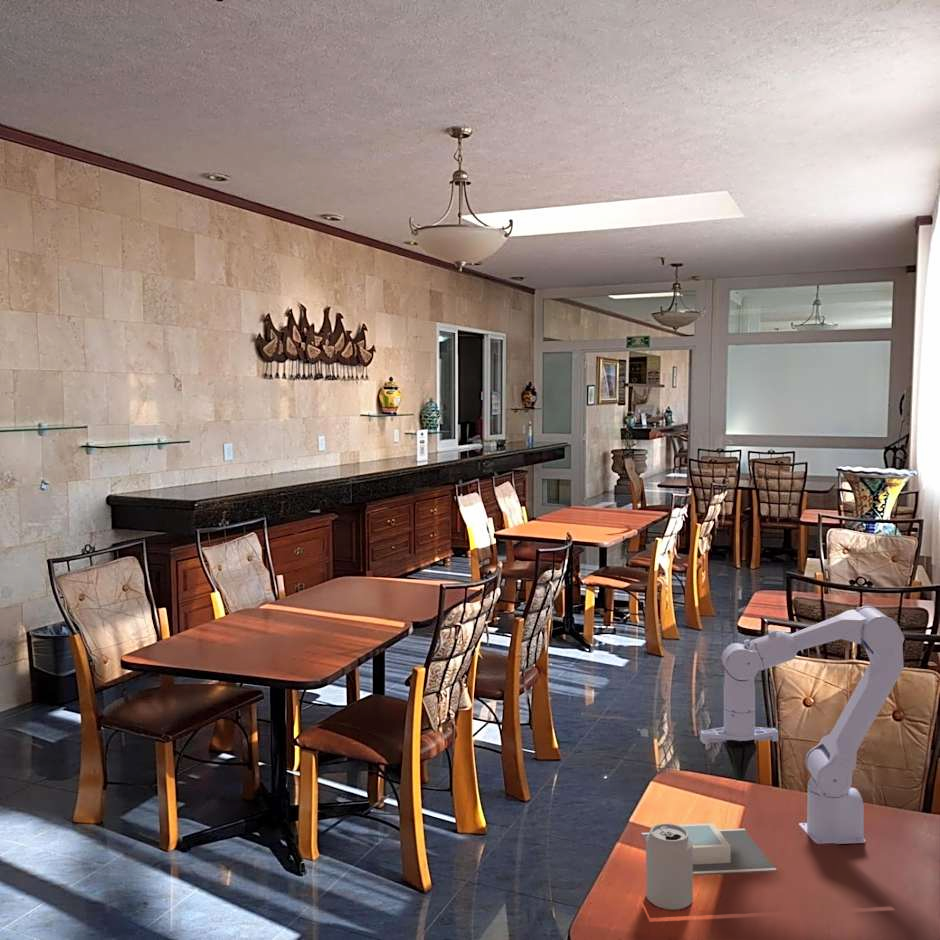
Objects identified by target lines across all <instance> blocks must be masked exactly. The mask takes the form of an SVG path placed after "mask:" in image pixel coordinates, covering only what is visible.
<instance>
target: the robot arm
mask: <svg viewBox="0 0 940 940" xmlns="http://www.w3.org/2000/svg"><path fill="white" fill-rule="evenodd" d="M767 633H768V634H766V635H764V636H759V637H758V638H755V639H752V640H751V639H748V638H747V639H744V640H743V643H744V644H743V643H739V642H734V643H731V644H729V645H727V646H726V648H724V649H723V651H722V655H720V660H721V664H722V665H723V667H724V674H723V675H724V676H723V680H724V681H723V726H722V727H715V728H711V729H701V730H700V731H699V741H700V742H701V743H702V744H703V745H706V744H707V745H709V743H722V745H723V746H724V748H725V751H726V752H727V755H728V758H729V761H730V765H731V768H732V772H733V777H734V779H735V780H736V781H745V779H746V773H747V769H748V767H749V764H750V762H751V760H752V758H753V756H754V755H755V753H756V752H757V749H758V748H757V746H758V745H757V743H755V742H756V741H757V742H758V741H759V742H760V741H772V742H779V731H778V730H777V729H776V728H775V727H762V726H761V727H760V726H756V685H755V676H756V675H757V674H758V672H759V671H764V670H767V669H770V668H773V667H776V666H778V665H781V664H785V663H787V662H791V661H794V659H795V657H796V656H797V654H798V652H799V651H803V650H806V649H810V648H814V647H817V646H821V645H824V644H828V643H831V642H835V641H838V640H844V641H847V642H850V643H855V644H858V645H863V647H864V650H865V652H866V654H867V657H868V660H869V664H868V666H867V668H866V669H865V672H863V675H862V676H861V679H859V681H858V684H857V685H856V687H855V689H854V691H853V692H852V694H851V697H850V698H849V700H848V701H847V703H846V704H845V707H844V709H843V711H842V712H841V714H840V716H839V717H838V719H837V721H836V723H835V725H834V726H833V728H832V729H831V732H830V733H829V734H827V735H825V736H823V737H821V739H820V740H819V742H818V743H817V744H816V745H815V746H814V747H812V748H811V749H810V750H809V751H808V752H807V753H806V754H805V758H804V759H805V760H804V762H805V767H806V769H807V771H808V772H809V773H810V778H809V779H808V782H807V796H806V797H807V801H806V802H807V807H806V808H807V809H806V812H807V815H806V816H807V817H806V821H807V822H799V823H798V826H799V827H800V828H801V829H802V830H803V831H804V832H805V833H806V835H808V837H809V838H811V840H812V841H813V842H814V843H815V844H818V845H819V844H820V845H821V844H835V845H844V844H845V845H846V844H864V843H866V839H865V838H864V825H865V823H864V818H865V815H864V814H865V812H864V810H865V809H864V802H863V799H862V796H861V794H860V793H861V792H859V790H858V789H857V788H855V787H854V786H853V787H852V785H853V774H854V772H855V769H856V767H857V760H858V759H857V755H858V750H859V748H860V746H861V744H862V743H863V742H864V739H865V737H866V736H867V734H868V732H869V730H870V728H871V727H872V725H873V724H874V721H875V720H876V718H877V716H878V715H879V713H880V712H881V709H882V707H883V705H884V704H885V702H886V700H887V699H888V697H889V695H890V694H891V691H892V690H893V688H894V686H895V684H896V682H897V681H898V679H899V677H900V675H901V674H902V672H903V669H904V666H905V665H904V651H903V650H904V649H903V648H904V647H903V646H904V645H903V644H904V641H905V636H904V634H903V632H902V630H901V627H900V626H899V623H898V622H896V621H895V620H894V619H892V618H891V617H889V616H887V615H886V614H884V613H883V612H882V611H880V609H878V608H876V607H874V606H871V605H864V606H863V605H862V606H860V607H858V608H856V609H854V608H853V609H847V610H846V611H844V612H841V613H840V614H837V615H836V616H833V617H830V618H827V619H825V620H823V621H820V622H817V623H815V624H813V625H810V626H808V627H805V628H803V629H800V630H798V631H795V632H793V633H788V632H786V631H784V630H778V631H776V630H775V629H771V630H768V632H767Z"/></svg>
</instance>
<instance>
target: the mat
mask: <svg viewBox="0 0 940 940" xmlns="http://www.w3.org/2000/svg"><path fill="white" fill-rule="evenodd" d="M718 829H719V831H720V832H721V834H722V835H723V836H724V838H725V839H726V841H727V842H728V843H729V845H730V846H731V863H714V864H693V876H706V875H708V876H709V875H724V874H725V875H727V874H728V875H729V874H749V873H752V874H753V873H769V872H770V873H773V872H776V873H777V872H778V870H777V868H776V867H775V866H774V865H773V864H772V862H771V861H770V860H769V858H768V857H767V856H766V855H765V853H764V852H763V851H762V849H761V848H760V847H759V846H758V844H757V843H756V842H755V840H753V838H752V837H751V835H750V834H749V833H748V832H747V830H746V829H745V828H744V827H743V828H718ZM640 834H641V836H642V838H643V840H644V842H645V843H646V837H647V836H648V835H649V834H650V831H649V832H640Z"/></svg>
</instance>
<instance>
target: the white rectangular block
mask: <svg viewBox="0 0 940 940" xmlns="http://www.w3.org/2000/svg"><path fill="white" fill-rule="evenodd" d="M677 825H678V826H681V827H683V828H684V829H686V830H687V831H688V833H689V837H690V839H691V840H692V842H693V864H714V863H731V846H730V845H729V843H728V842H727V841H726V839H725V838H724V836H723V835H722V834H721V832H720V831H719V829H720V828H718V827H717V826H716V824H715V823H714V822H710V823H706V822H705V823H685V824H684V823H683V824H682V823H681V824H677Z"/></svg>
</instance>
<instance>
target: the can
mask: <svg viewBox="0 0 940 940" xmlns="http://www.w3.org/2000/svg"><path fill="white" fill-rule="evenodd" d="M649 829H650V830H649V832H650V834H649V835H648V836H647V837H646V842H645V896H646V898H647V900H648V901H649V902H650V903H651V904H652V905H654V906H656V907H657V908H660V909H663V910H668V911H669V910H670V911H678V910H681V909H682V910H683V909H685V908H687V907H689V906H690V905H691V903H693V899H694V897H693V895H694V893H693V890H694V889H693V887H694V882H693V881H694V880H693V879H694V877H693V876H694V875H693V842H692V840H691V839H690V837H689V833H688V831H687V830H686V829H684V828H683V827H681V826H678V824H674V823H658V824H656V825H653V826H652V827H650V828H649Z"/></svg>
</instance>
